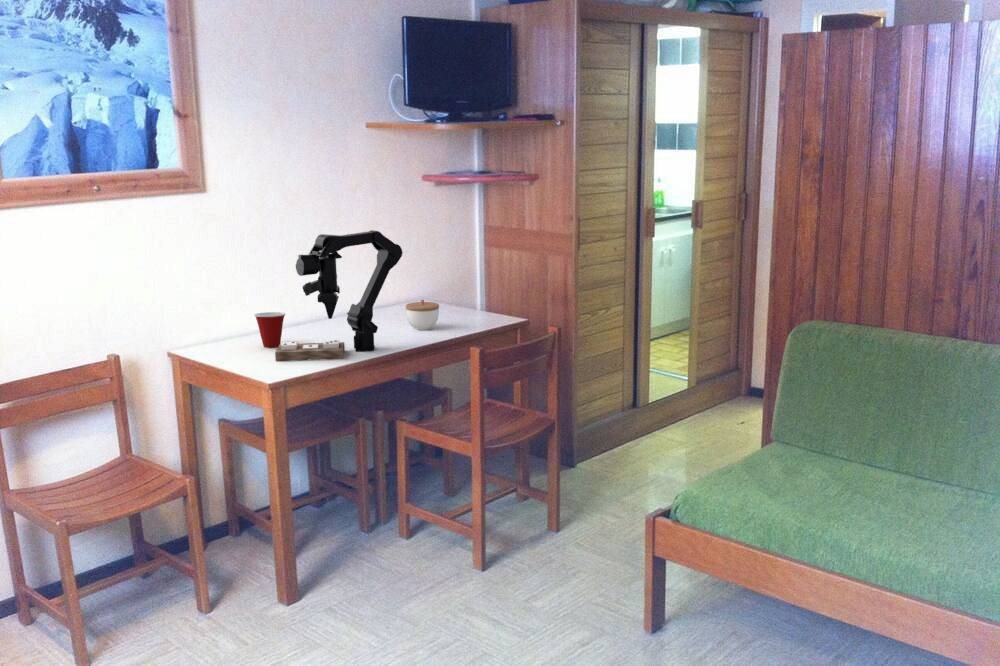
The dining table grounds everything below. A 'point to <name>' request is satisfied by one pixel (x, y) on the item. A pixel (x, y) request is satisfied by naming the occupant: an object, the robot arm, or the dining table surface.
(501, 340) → the dining table surface
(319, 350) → the key panel
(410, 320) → the lidded bowl
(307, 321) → the dining table surface
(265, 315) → the plastic cup
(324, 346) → the three dot key
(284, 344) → the two dot key
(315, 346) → the one dot key
